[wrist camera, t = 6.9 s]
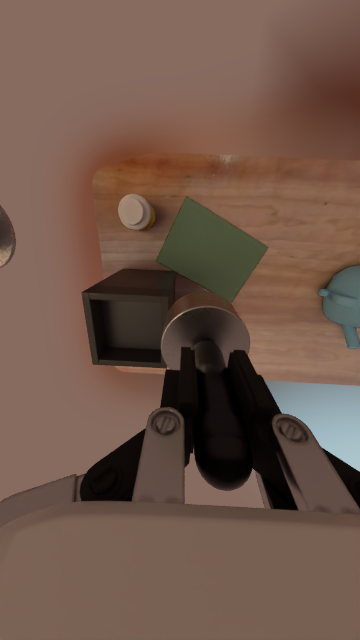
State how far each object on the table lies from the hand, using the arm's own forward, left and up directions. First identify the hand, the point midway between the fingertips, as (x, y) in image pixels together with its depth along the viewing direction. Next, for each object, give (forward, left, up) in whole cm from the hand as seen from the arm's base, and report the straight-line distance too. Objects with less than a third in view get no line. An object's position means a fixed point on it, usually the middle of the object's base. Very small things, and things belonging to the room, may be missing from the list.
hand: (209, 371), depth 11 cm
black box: (-6, -11, -37) cm, 39 cm away
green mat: (+2, +4, -37) cm, 38 cm away
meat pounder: (0, 0, -6) cm, 6 cm away
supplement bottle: (-14, +4, -37) cm, 40 cm away
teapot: (+34, +11, -37) cm, 52 cm away
